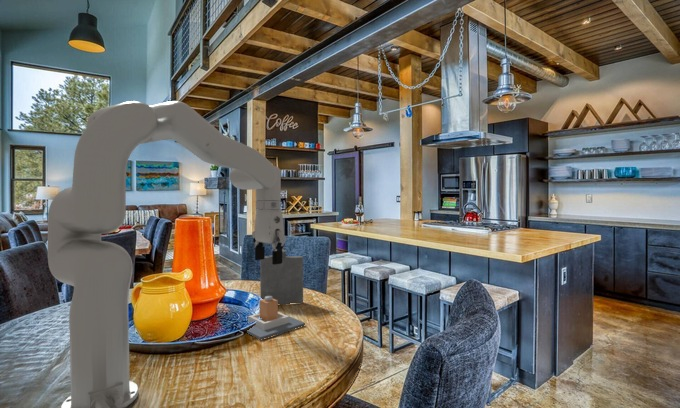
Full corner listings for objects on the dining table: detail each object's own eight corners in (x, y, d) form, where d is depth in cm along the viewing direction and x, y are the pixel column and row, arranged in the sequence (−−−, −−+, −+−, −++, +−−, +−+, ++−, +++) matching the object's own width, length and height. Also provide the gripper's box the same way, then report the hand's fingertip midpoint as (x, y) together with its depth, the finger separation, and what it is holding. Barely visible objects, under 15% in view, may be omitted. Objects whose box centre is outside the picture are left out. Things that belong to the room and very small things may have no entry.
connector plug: (277, 322, 110) (277, 297, 110) (266, 325, 107) (266, 299, 107) (270, 319, 113) (270, 294, 113) (259, 322, 110) (259, 297, 110)
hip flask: (303, 301, 135) (303, 249, 135) (302, 304, 131) (302, 251, 130) (261, 302, 134) (261, 249, 134) (259, 305, 130) (259, 251, 130)
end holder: (305, 326, 110) (305, 316, 110) (260, 340, 99) (260, 330, 99) (275, 313, 121) (275, 304, 121) (232, 325, 110) (232, 316, 110)
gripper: (295, 206, 106) (295, 264, 106) (263, 205, 118) (263, 256, 118) (273, 207, 100) (273, 267, 101) (243, 205, 113) (243, 259, 113)
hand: (268, 261), depth 109 cm, fingers open, 9 cm apart
